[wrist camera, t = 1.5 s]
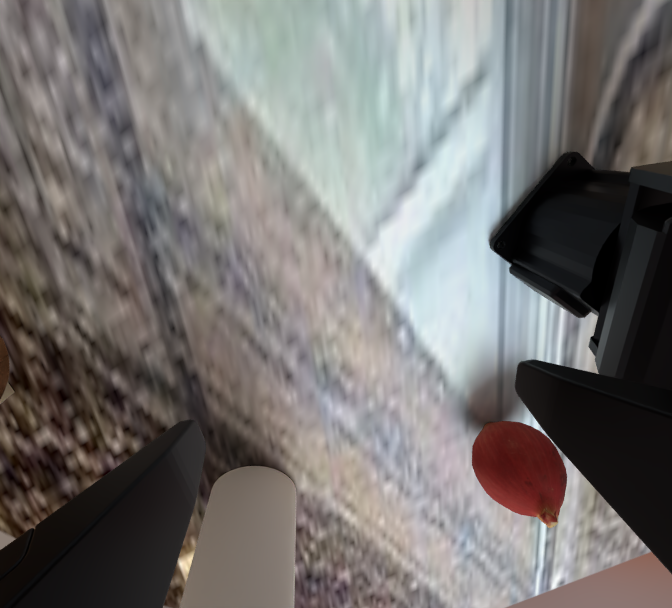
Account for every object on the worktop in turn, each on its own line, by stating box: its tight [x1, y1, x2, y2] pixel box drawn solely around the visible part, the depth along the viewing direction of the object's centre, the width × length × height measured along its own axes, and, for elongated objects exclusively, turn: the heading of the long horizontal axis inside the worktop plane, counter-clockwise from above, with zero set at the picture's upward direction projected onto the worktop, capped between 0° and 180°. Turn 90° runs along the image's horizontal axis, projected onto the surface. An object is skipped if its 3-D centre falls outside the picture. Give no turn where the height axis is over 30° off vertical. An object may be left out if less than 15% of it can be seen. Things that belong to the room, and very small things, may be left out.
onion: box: [472, 421, 567, 528], centre depth 23 cm, size 6×6×8 cm
